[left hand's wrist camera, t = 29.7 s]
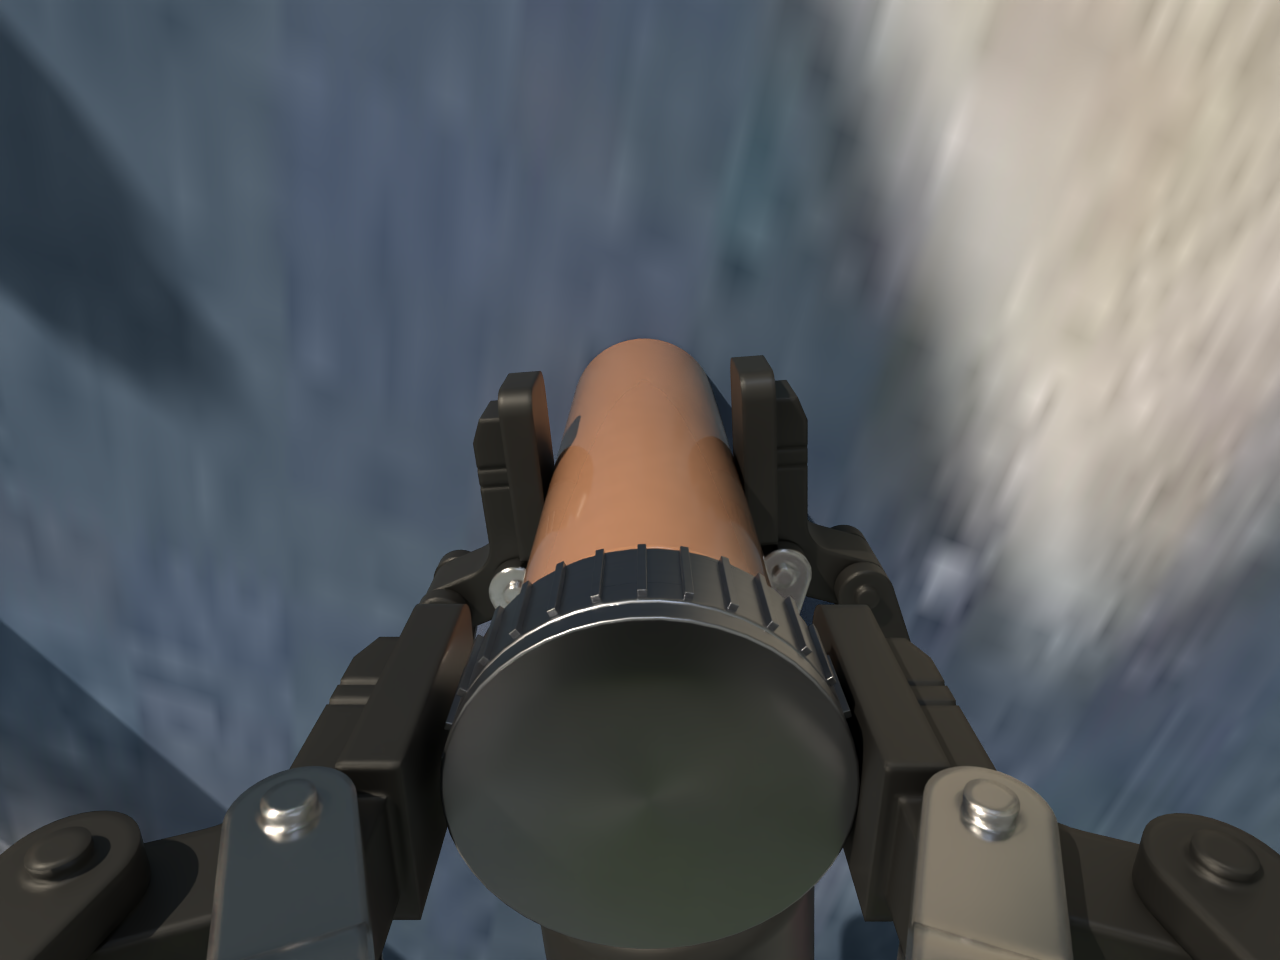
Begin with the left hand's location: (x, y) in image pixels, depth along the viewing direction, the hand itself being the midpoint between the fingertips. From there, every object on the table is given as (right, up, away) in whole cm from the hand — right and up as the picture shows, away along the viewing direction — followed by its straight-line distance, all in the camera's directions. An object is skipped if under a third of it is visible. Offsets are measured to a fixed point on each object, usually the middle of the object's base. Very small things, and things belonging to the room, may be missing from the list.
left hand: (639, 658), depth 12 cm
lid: (0, -1, -2) cm, 3 cm away
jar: (0, +5, +12) cm, 13 cm away
